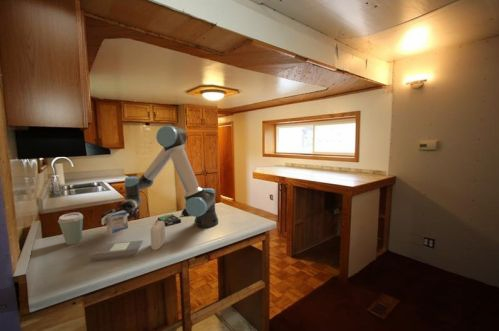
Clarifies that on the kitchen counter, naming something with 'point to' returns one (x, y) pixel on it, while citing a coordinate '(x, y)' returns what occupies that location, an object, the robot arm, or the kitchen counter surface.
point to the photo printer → (157, 235)
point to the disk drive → (169, 219)
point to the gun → (184, 212)
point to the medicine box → (116, 221)
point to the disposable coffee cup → (71, 227)
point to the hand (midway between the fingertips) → (113, 221)
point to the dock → (116, 250)
